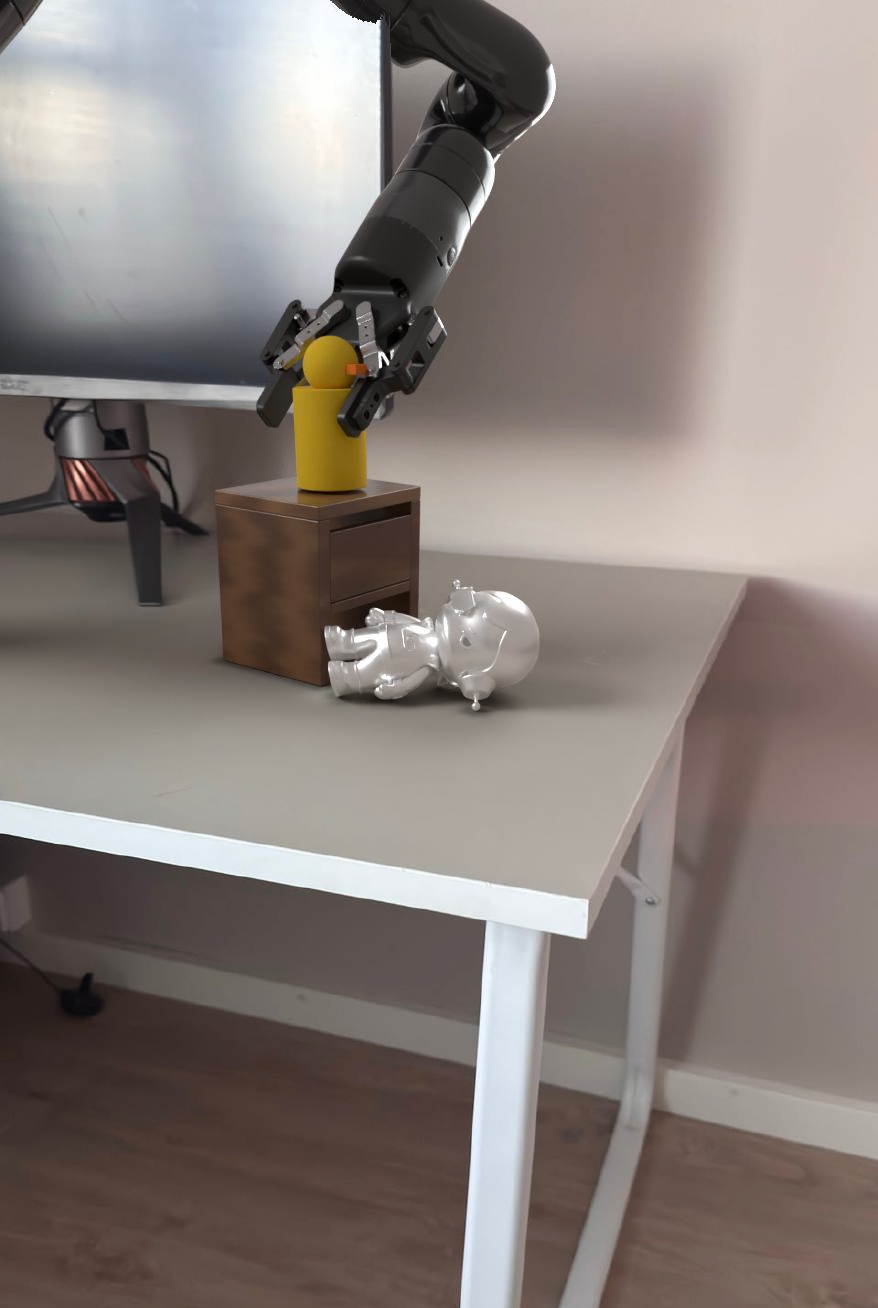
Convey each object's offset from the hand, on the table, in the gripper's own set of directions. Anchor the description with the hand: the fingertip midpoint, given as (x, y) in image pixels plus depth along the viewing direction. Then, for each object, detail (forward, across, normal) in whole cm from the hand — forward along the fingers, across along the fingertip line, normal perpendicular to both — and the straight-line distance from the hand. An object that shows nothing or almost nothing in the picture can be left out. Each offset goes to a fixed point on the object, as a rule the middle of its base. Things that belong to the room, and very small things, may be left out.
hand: (305, 424), depth 85 cm
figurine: (+13, +12, +12) cm, 22 cm away
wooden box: (+11, 0, +14) cm, 18 cm away
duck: (+2, +1, +4) cm, 5 cm away
